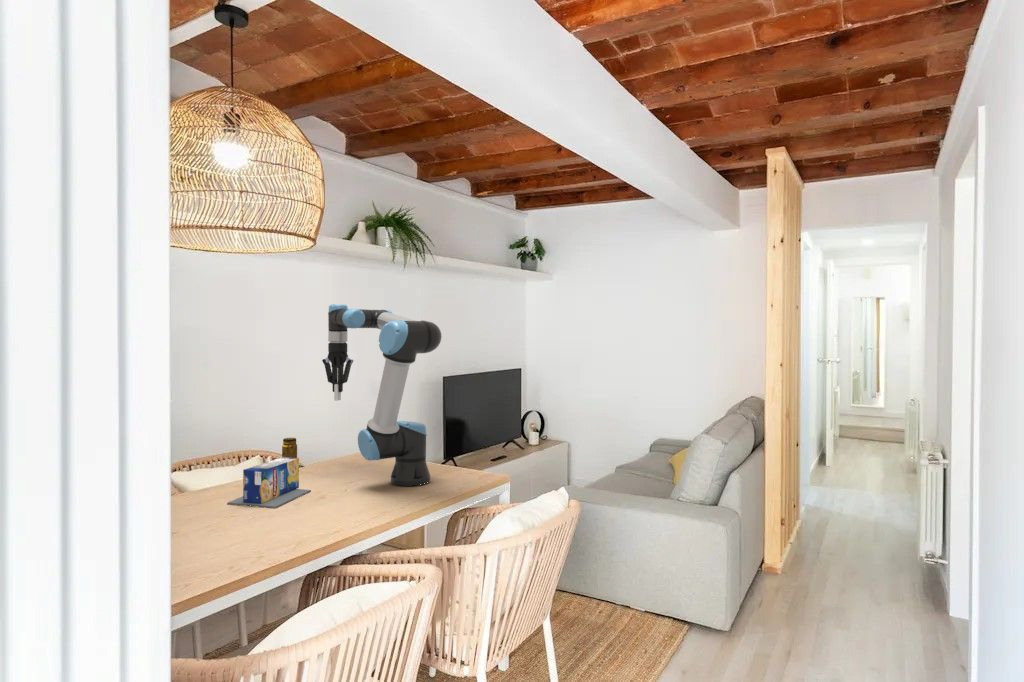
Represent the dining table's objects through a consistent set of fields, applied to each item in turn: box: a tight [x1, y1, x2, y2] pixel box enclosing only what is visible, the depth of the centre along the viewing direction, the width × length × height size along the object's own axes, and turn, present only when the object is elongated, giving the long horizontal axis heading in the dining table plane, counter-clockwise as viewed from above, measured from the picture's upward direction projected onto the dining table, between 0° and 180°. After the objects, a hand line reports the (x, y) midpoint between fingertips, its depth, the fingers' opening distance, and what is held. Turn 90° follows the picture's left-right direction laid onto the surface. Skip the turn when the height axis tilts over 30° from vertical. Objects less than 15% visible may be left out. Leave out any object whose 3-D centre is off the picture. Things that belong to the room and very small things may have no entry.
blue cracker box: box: [242, 456, 300, 504], centre depth 224 cm, size 7×11×22 cm
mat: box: [226, 488, 312, 509], centre depth 223 cm, size 18×22×1 cm
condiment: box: [281, 437, 304, 468], centre depth 272 cm, size 7×8×12 cm
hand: (337, 400), depth 262 cm, fingers closed
